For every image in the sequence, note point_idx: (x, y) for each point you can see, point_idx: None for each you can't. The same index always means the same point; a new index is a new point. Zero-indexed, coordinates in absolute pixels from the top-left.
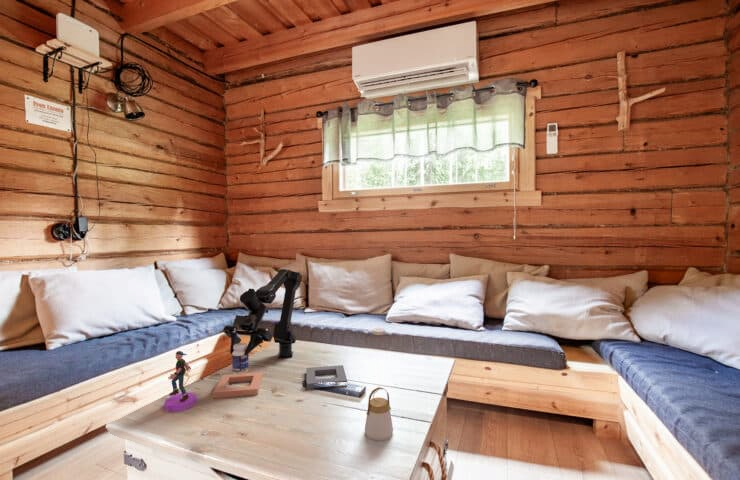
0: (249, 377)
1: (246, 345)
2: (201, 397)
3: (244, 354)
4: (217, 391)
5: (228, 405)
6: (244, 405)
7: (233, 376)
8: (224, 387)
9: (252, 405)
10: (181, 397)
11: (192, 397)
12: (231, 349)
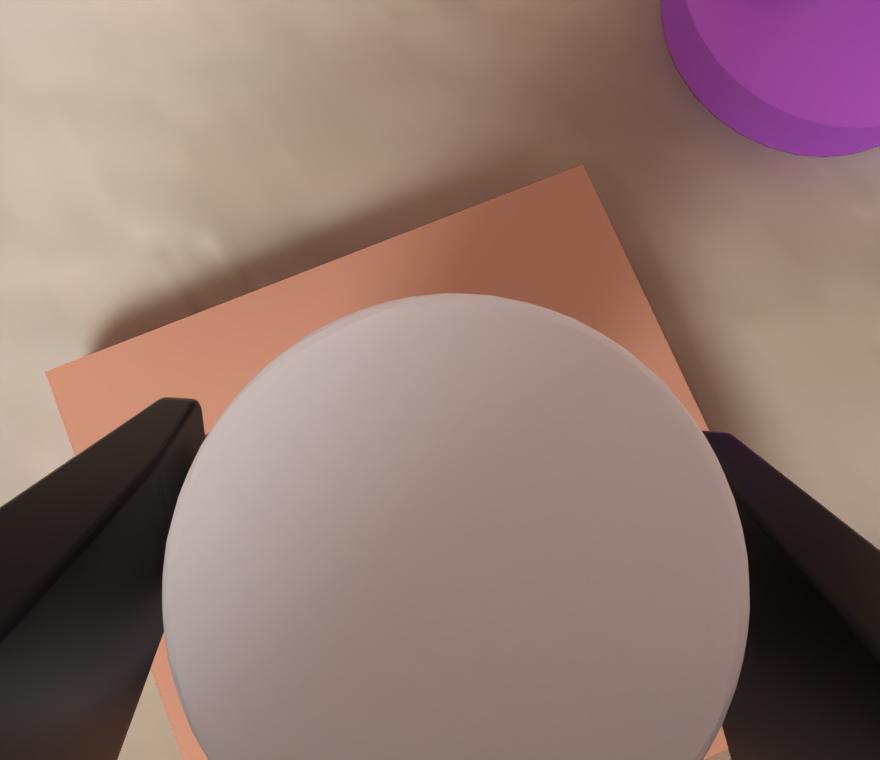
0: None
1: (175, 663)
2: (711, 186)
3: (189, 401)
4: (547, 201)
5: (291, 88)
6: (111, 120)
7: None
8: None
9: (18, 136)
10: (863, 10)
11: (741, 32)
12: (752, 485)
